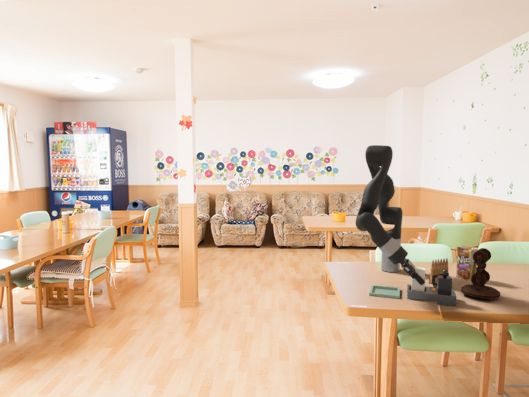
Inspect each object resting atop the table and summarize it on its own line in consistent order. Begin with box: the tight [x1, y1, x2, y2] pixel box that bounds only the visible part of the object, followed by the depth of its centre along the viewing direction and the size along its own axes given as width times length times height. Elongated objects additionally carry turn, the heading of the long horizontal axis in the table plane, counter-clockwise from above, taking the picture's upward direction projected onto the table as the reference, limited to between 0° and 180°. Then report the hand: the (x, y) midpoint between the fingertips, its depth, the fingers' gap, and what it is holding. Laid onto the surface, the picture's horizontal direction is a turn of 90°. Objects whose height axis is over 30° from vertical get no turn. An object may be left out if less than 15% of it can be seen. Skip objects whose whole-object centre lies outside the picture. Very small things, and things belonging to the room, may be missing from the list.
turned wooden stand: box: [460, 247, 501, 302], centre depth 168 cm, size 15×15×20 cm
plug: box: [410, 266, 426, 291], centre depth 165 cm, size 4×5×10 cm
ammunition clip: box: [428, 257, 450, 287], centre depth 184 cm, size 11×2×12 cm, turn 115°
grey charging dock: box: [406, 269, 458, 307], centre depth 163 cm, size 10×18×13 cm, turn 71°
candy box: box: [455, 245, 479, 283], centre depth 193 cm, size 9×4×15 cm, turn 17°
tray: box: [368, 284, 401, 300], centre depth 170 cm, size 12×12×2 cm
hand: (423, 282), depth 164 cm, fingers closed on plug, 4 cm apart
